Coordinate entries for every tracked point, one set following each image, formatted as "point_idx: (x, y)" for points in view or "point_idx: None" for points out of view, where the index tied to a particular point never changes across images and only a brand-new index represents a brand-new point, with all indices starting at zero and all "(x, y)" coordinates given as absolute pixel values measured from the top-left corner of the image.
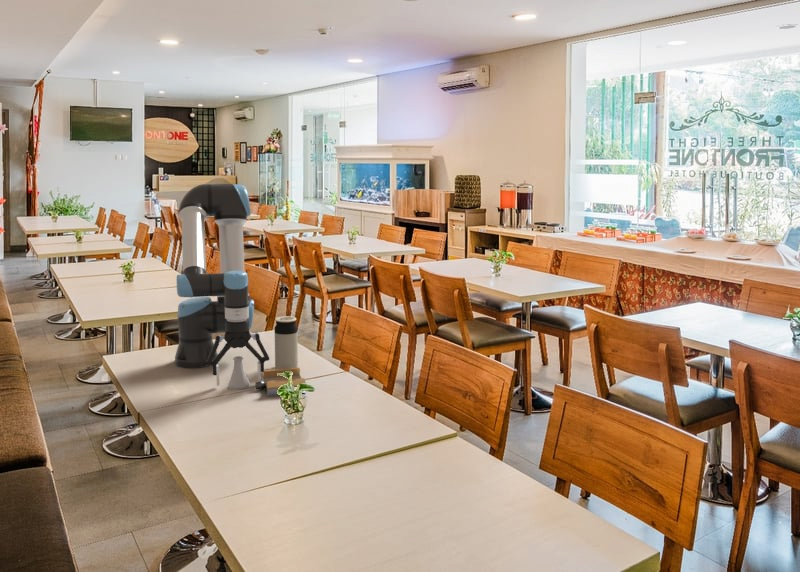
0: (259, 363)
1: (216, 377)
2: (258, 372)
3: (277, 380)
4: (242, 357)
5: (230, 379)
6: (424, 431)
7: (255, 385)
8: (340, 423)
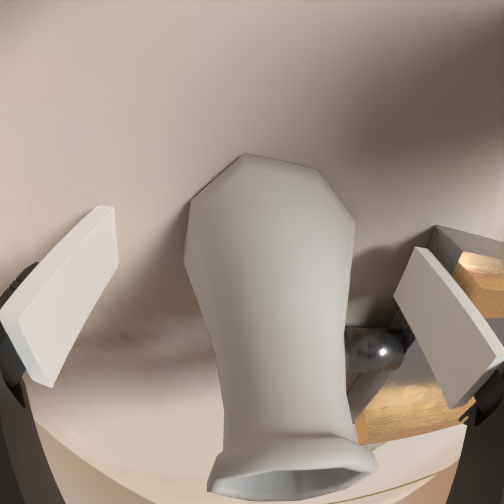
0: (458, 406)
1: (74, 230)
2: (422, 348)
3: (410, 430)
4: (346, 487)
5: (196, 270)
6: (434, 470)
7: (352, 334)
8: (379, 473)
